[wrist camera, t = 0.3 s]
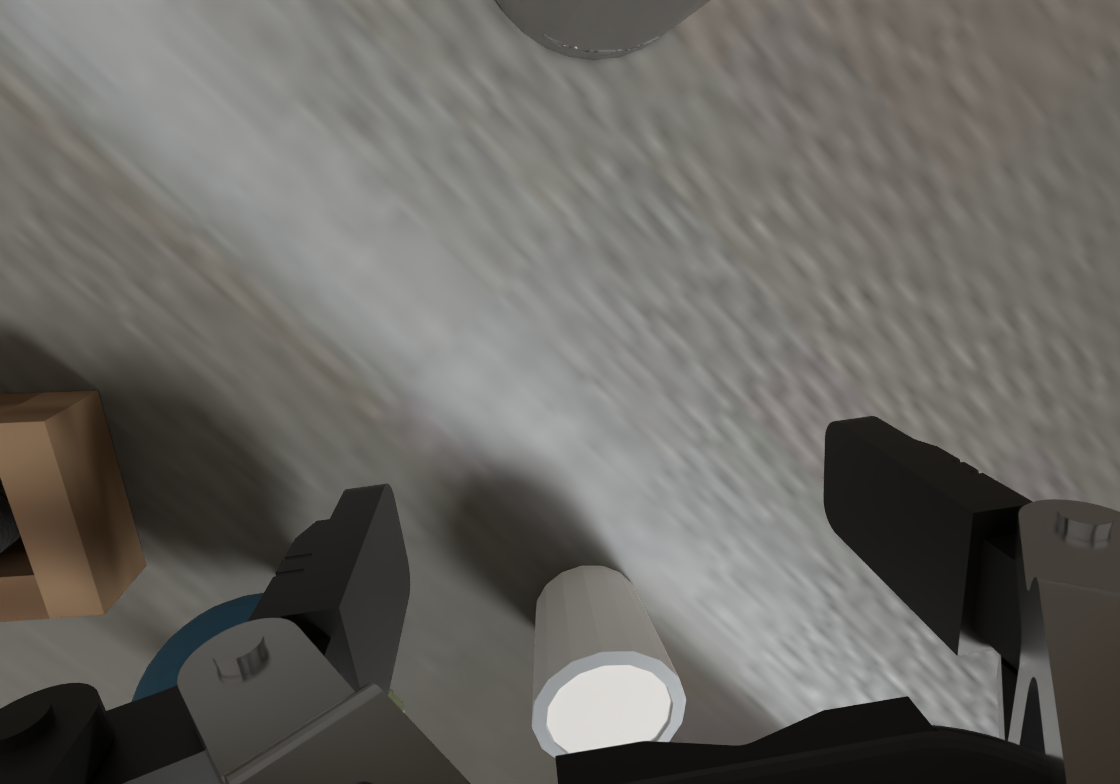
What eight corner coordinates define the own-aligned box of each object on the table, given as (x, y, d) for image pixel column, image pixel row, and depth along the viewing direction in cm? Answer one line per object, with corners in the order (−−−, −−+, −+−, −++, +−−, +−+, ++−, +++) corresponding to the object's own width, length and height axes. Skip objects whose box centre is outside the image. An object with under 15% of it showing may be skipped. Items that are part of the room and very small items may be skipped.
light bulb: (243, 487, 29) (90, 686, 18) (417, 534, 31) (376, 741, 20) (206, 626, 32) (51, 880, 21) (370, 663, 34) (310, 913, 22)
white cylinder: (497, 624, 34) (499, 735, 27) (577, 532, 32) (599, 626, 26) (596, 678, 36) (619, 794, 29) (675, 593, 34) (718, 696, 28)
